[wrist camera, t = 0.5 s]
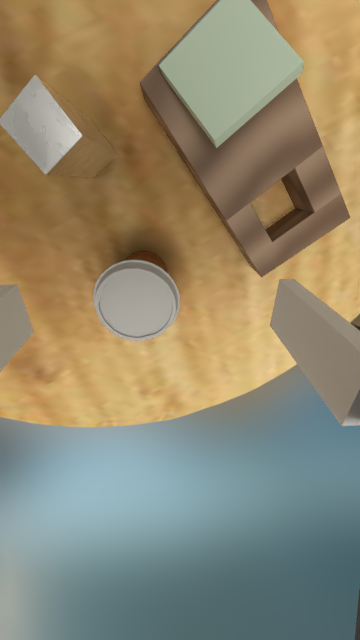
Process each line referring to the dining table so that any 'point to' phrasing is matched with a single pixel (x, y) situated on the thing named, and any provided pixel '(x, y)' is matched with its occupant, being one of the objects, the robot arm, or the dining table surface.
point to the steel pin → (56, 133)
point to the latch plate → (229, 67)
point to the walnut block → (257, 168)
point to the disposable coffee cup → (137, 297)
